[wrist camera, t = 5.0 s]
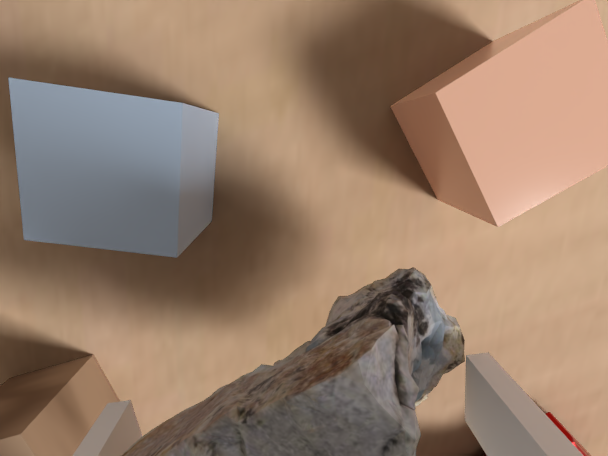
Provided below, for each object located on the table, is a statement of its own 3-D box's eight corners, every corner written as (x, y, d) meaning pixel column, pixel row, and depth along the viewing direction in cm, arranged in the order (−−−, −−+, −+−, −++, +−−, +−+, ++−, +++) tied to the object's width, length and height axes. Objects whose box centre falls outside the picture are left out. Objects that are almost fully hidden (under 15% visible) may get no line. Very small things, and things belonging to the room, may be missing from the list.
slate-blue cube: (106, 207, 16) (23, 240, 11) (104, 96, 14) (8, 77, 10) (212, 220, 16) (177, 257, 11) (219, 113, 15) (182, 102, 10)
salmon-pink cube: (436, 199, 16) (497, 227, 11) (389, 106, 15) (435, 92, 10) (532, 143, 15) (640, 147, 11) (492, 41, 14) (593, -6, 9)
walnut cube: (55, 444, 19) (-23, 545, 15) (10, 377, 18) (-92, 464, 13) (133, 423, 19) (79, 519, 14) (94, 353, 18) (20, 434, 13)
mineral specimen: (336, 334, 18) (248, 185, 13) (507, 381, 13) (482, 168, 8) (227, 548, 13) (-9, 444, 7) (454, 776, 8) (228, 988, 2)
